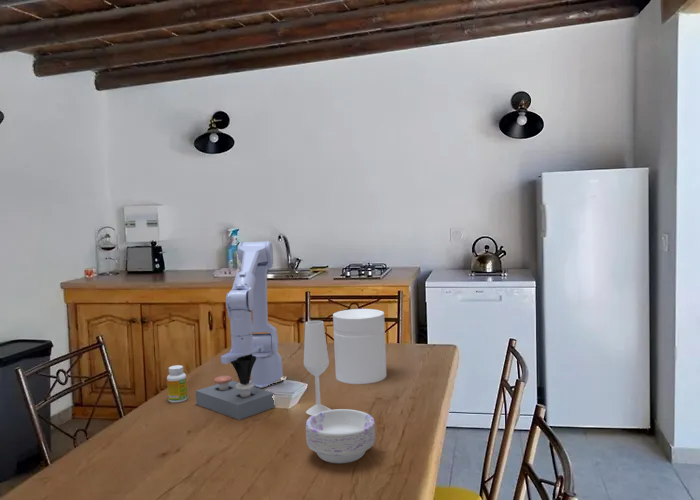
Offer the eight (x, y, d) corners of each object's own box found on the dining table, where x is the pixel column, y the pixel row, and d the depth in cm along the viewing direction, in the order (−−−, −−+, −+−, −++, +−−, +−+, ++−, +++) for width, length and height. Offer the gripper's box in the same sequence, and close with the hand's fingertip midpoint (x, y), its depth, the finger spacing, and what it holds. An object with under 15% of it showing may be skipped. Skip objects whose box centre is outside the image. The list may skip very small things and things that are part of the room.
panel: (231, 393, 182) (230, 380, 182) (275, 407, 168) (274, 392, 168) (196, 404, 173) (195, 390, 173) (239, 420, 160) (238, 405, 159)
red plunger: (226, 388, 178) (225, 374, 177) (236, 391, 174) (235, 377, 174) (211, 392, 174) (211, 378, 174) (221, 395, 171) (220, 381, 170)
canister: (327, 381, 189) (324, 317, 188) (347, 367, 204) (344, 308, 202) (376, 385, 183) (373, 319, 182) (393, 370, 198) (390, 309, 196)
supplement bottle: (182, 403, 175) (180, 369, 174) (165, 402, 176) (162, 369, 175) (190, 397, 180) (188, 364, 179) (174, 396, 181) (171, 364, 181)
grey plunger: (247, 394, 171) (246, 380, 170) (258, 398, 167) (257, 383, 167) (233, 399, 167) (232, 385, 167) (243, 402, 164) (242, 388, 164)
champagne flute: (313, 405, 168) (309, 319, 166) (335, 408, 165) (331, 320, 163) (301, 413, 162) (296, 324, 160) (323, 416, 159) (319, 325, 157)
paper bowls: (385, 463, 131) (384, 426, 130) (316, 475, 126) (314, 437, 126) (363, 437, 145) (362, 404, 145) (300, 447, 141) (298, 413, 140)
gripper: (249, 327, 174) (251, 374, 175) (211, 338, 162) (214, 388, 163) (268, 329, 170) (270, 377, 171) (230, 341, 158) (233, 392, 159)
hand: (244, 383), depth 167 cm, fingers closed
